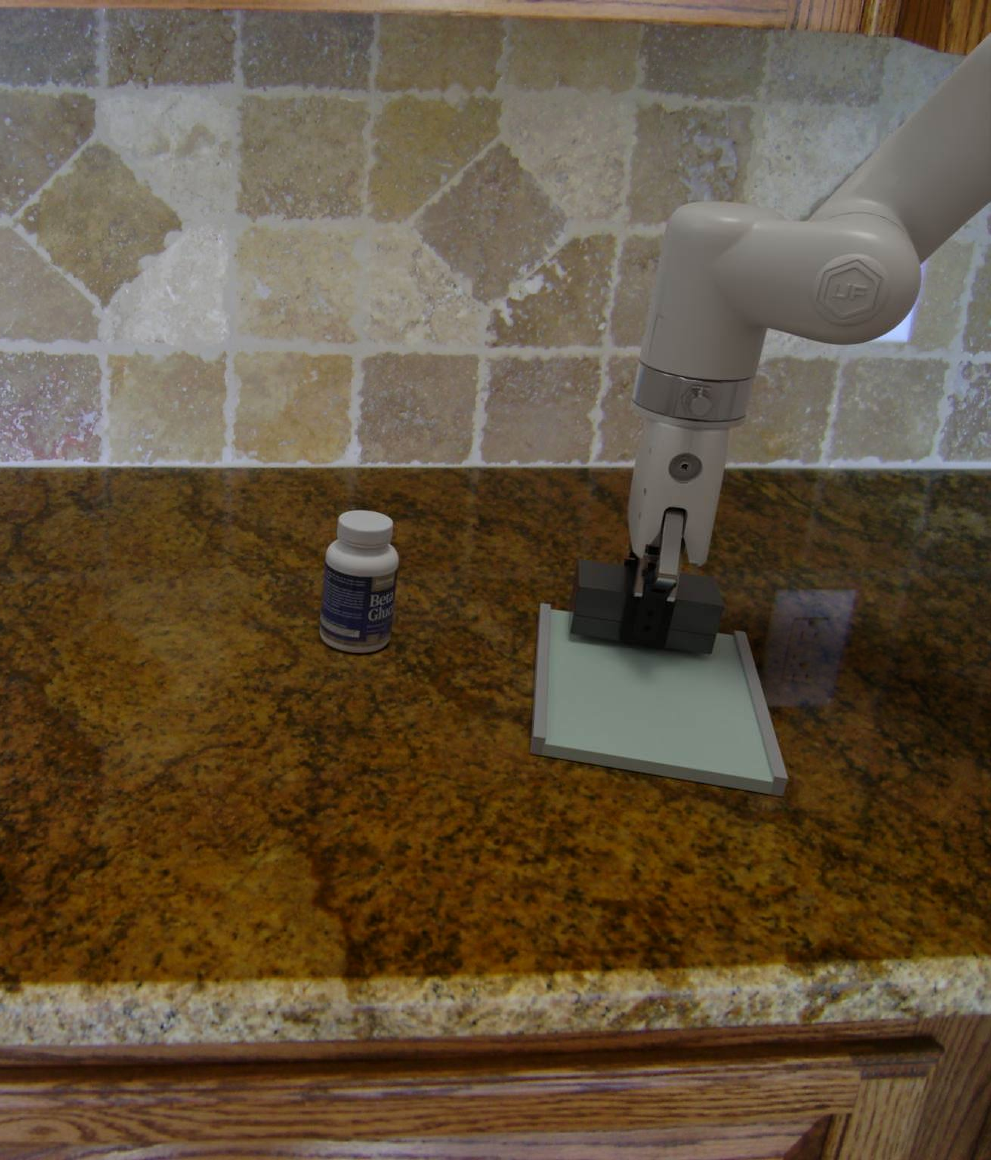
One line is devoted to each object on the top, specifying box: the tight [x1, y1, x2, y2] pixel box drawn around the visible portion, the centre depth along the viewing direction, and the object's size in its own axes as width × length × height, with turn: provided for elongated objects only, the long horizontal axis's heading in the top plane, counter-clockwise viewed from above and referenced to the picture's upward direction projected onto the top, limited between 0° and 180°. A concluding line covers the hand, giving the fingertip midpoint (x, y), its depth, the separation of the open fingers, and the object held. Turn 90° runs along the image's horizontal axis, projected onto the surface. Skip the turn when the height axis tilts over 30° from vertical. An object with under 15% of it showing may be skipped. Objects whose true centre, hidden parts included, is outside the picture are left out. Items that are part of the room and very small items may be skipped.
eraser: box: [568, 558, 725, 654], centre depth 87 cm, size 10×5×4 cm, turn 75°
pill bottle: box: [319, 509, 400, 654], centre depth 87 cm, size 5×5×10 cm
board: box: [529, 602, 789, 798], centre depth 82 cm, size 15×20×1 cm
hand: (639, 624), depth 88 cm, fingers closed on eraser, 5 cm apart
